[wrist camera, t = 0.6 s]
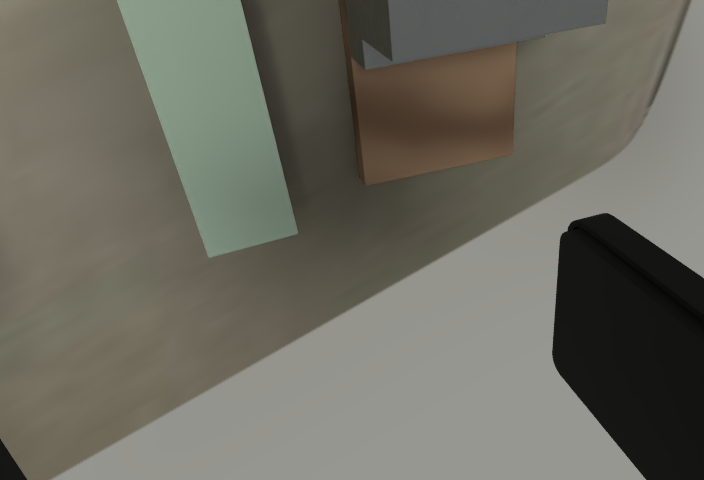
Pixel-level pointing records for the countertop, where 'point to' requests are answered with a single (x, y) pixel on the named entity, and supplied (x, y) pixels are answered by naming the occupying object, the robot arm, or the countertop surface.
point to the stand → (441, 77)
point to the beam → (213, 118)
